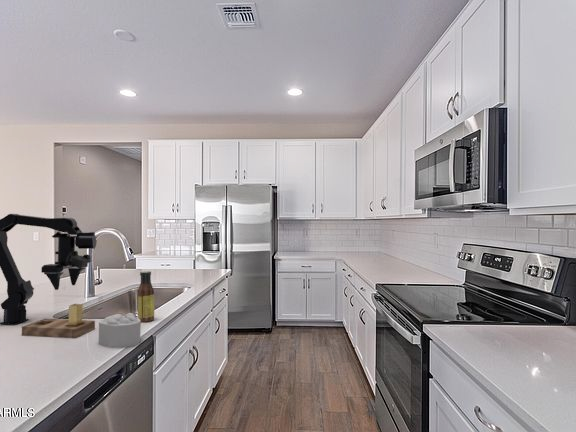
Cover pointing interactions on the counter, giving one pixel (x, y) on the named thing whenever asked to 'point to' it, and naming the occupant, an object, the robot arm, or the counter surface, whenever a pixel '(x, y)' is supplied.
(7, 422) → the counter surface
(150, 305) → the sauce bottle
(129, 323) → the lumpy-topped squat cylinder
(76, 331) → the mount board
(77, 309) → the pin
